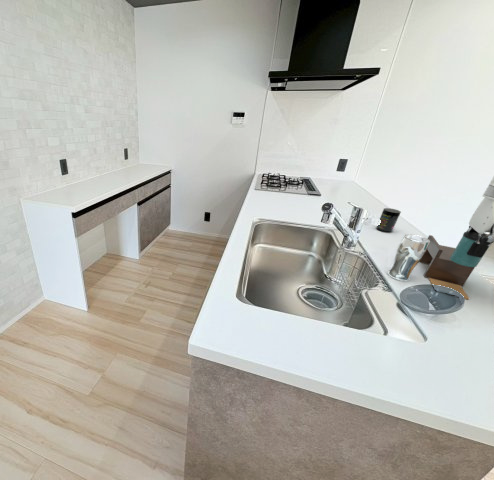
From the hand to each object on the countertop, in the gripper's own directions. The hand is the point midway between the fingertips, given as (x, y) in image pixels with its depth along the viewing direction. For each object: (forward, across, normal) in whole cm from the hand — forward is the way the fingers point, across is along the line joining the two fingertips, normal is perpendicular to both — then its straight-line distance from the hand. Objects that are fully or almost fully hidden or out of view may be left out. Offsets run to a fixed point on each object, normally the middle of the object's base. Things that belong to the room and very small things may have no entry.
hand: (469, 250), depth 79 cm
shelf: (+14, +12, 0) cm, 19 cm away
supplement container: (+14, +49, +13) cm, 53 cm away
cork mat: (+14, 0, 0) cm, 14 cm away
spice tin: (+4, 0, 0) cm, 4 cm away
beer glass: (+14, 0, +13) cm, 19 cm away
